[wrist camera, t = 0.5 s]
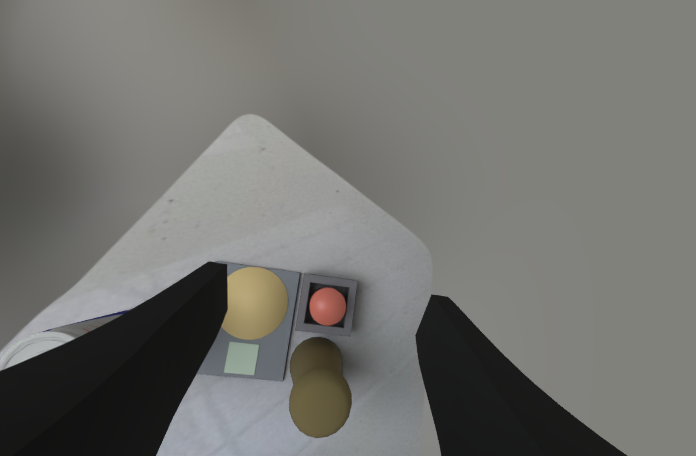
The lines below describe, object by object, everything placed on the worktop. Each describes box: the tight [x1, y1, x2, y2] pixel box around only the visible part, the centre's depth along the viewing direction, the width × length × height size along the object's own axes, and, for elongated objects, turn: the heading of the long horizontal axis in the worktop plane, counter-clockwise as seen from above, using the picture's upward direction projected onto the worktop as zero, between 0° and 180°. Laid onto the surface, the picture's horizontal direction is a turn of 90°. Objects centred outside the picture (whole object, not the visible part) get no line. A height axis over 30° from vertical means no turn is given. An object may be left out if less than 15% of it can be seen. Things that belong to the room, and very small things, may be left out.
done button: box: [309, 287, 346, 326], centre depth 32 cm, size 4×4×2 cm
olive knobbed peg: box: [289, 337, 352, 438], centre depth 28 cm, size 6×6×11 cm
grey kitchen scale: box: [197, 261, 300, 381], centre depth 33 cm, size 12×10×1 cm
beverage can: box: [0, 309, 131, 371], centre depth 25 cm, size 6×6×15 cm
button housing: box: [295, 273, 357, 336], centre depth 33 cm, size 6×6×3 cm
